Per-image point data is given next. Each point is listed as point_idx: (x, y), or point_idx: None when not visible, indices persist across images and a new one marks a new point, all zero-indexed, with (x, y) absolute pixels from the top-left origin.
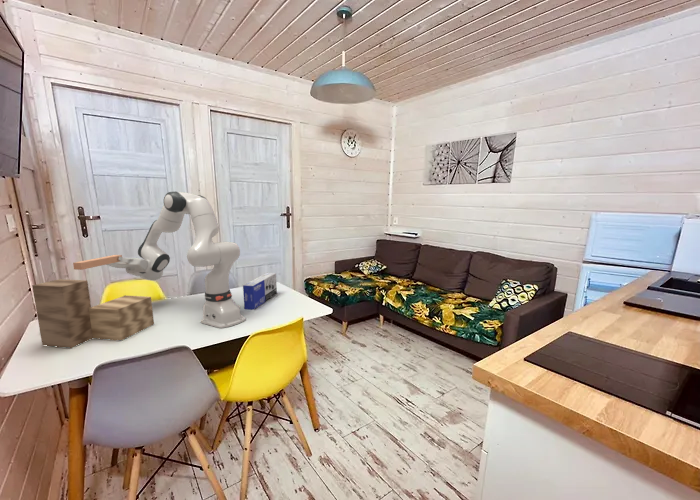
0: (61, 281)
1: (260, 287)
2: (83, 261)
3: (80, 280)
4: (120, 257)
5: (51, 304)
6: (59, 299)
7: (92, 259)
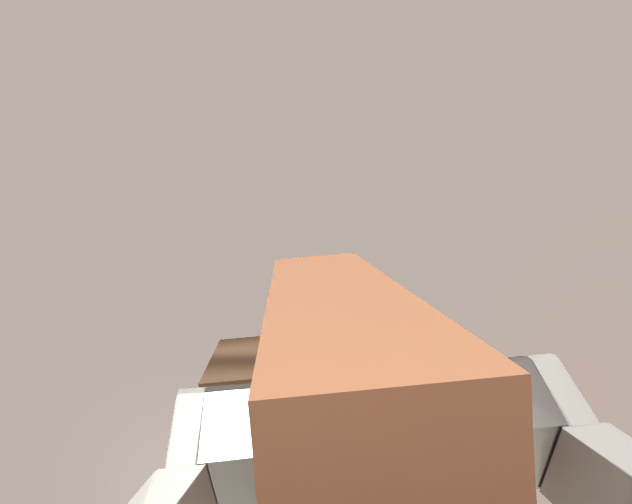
0: None
1: None
2: (325, 261)
3: (247, 376)
4: (182, 405)
5: None
6: None
7: (351, 272)
